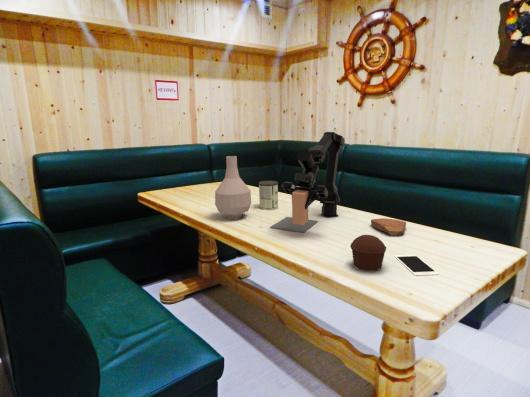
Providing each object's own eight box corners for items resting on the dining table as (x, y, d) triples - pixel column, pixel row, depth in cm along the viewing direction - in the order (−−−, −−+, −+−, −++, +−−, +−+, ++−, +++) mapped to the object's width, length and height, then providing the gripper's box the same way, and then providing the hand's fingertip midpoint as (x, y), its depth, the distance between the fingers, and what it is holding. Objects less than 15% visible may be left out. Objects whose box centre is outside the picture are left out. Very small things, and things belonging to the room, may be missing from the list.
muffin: (391, 272, 112) (393, 242, 110) (356, 274, 111) (358, 243, 109) (376, 257, 124) (378, 230, 121) (345, 259, 123) (346, 231, 120)
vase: (209, 216, 179) (206, 156, 172) (239, 210, 189) (237, 153, 182) (227, 224, 165) (224, 159, 158) (258, 217, 175) (257, 156, 168)
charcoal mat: (286, 217, 174) (286, 216, 174) (318, 221, 166) (318, 220, 166) (270, 228, 158) (270, 227, 158) (303, 232, 151) (303, 231, 151)
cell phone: (415, 277, 109) (415, 275, 109) (393, 256, 125) (393, 255, 125) (439, 276, 110) (439, 274, 110) (415, 256, 125) (415, 254, 125)
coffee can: (260, 205, 199) (259, 180, 196) (278, 205, 198) (278, 180, 195) (258, 210, 189) (257, 184, 186) (277, 210, 188) (277, 184, 185)
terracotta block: (297, 219, 150) (297, 189, 146) (308, 221, 148) (308, 191, 144) (292, 223, 146) (292, 192, 142) (303, 225, 144) (303, 194, 140)
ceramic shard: (368, 222, 147) (370, 218, 161) (369, 238, 147) (371, 232, 161) (406, 220, 142) (405, 216, 156) (407, 236, 142) (406, 230, 156)
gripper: (283, 162, 147) (271, 195, 141) (326, 166, 139) (316, 201, 133) (291, 176, 156) (280, 208, 150) (332, 180, 148) (322, 214, 142)
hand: (299, 207), depth 144 cm, fingers closed on terracotta block, 5 cm apart
